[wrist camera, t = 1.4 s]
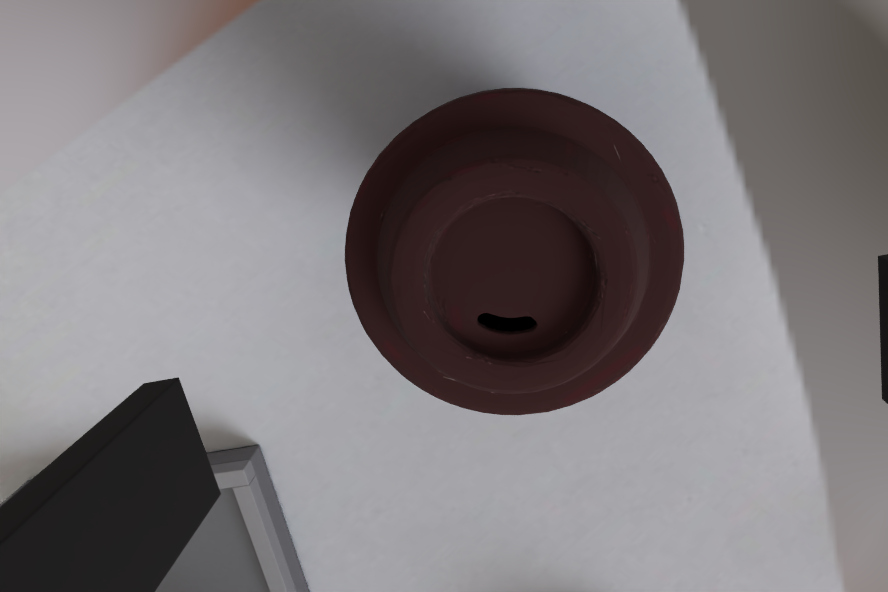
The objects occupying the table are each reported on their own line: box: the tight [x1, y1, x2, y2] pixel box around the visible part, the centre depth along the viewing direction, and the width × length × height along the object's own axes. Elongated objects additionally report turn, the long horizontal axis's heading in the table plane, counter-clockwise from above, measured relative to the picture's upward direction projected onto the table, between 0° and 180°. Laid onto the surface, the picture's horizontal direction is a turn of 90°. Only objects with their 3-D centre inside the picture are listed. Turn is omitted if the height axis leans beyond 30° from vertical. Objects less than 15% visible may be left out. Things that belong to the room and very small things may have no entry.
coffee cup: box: [345, 88, 684, 415], centre depth 25 cm, size 10×10×15 cm
